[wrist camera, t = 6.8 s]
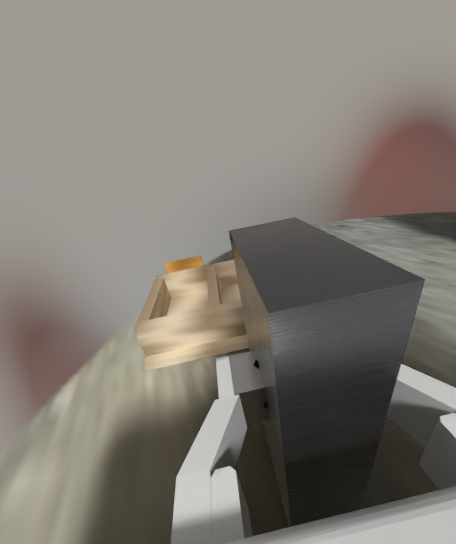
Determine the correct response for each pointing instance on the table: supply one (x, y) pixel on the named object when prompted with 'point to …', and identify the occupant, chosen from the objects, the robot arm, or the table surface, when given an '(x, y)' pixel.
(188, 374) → the table surface
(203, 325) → the wooden divided box
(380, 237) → the table surface
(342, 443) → the block
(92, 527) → the table surface
